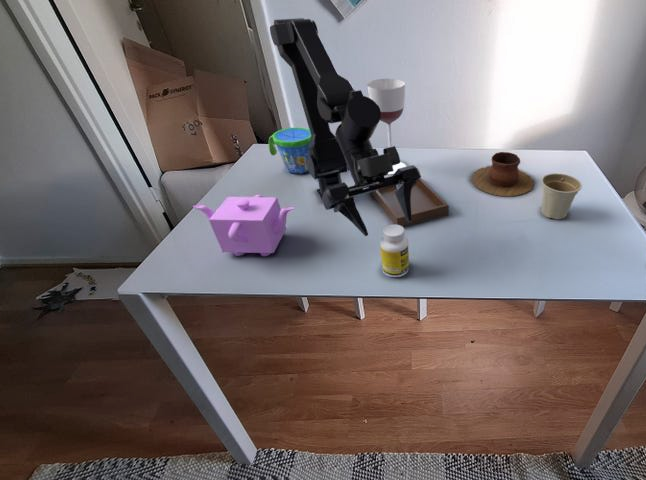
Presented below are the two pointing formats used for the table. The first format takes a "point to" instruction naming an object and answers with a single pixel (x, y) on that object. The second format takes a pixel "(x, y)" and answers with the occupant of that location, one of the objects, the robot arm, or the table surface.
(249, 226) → the teapot
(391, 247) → the supplement bottle
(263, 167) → the table surface
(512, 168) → the ceramic pot
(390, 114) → the wineglass
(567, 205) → the flower pot
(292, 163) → the snack cup
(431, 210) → the tray
